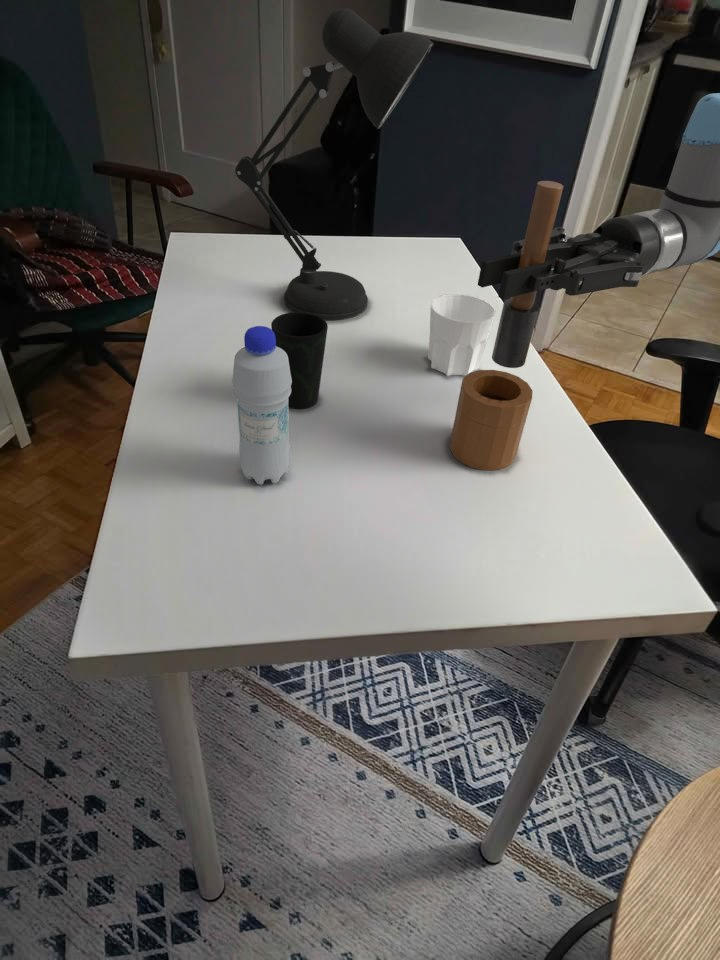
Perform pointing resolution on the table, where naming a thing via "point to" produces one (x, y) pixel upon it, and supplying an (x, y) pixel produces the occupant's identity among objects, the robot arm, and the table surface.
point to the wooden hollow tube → (490, 419)
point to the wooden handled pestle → (521, 308)
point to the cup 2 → (458, 332)
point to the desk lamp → (381, 84)
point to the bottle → (262, 406)
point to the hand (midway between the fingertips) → (492, 279)
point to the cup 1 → (302, 354)
